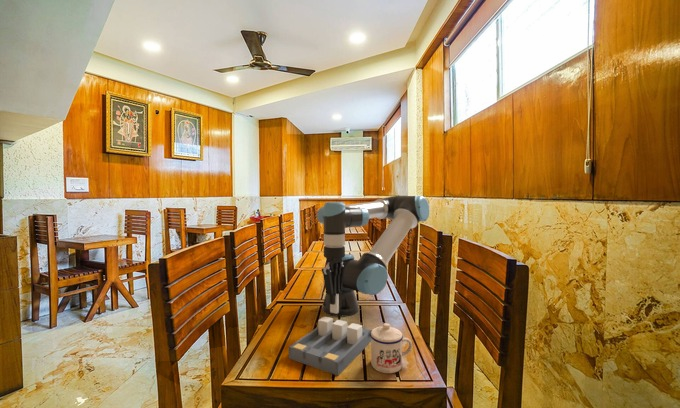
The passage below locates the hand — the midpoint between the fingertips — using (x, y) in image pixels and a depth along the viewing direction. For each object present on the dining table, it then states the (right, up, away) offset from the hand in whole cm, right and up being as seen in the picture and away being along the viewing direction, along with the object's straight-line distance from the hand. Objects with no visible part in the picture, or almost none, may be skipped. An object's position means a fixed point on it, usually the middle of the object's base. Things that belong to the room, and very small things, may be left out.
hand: (334, 312), depth 103 cm
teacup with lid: (+17, -8, -20) cm, 27 cm away
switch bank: (0, -7, -12) cm, 14 cm away
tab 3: (+7, -6, -10) cm, 14 cm away
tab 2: (+2, -6, -8) cm, 10 cm away
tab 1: (-3, -6, -5) cm, 8 cm away
